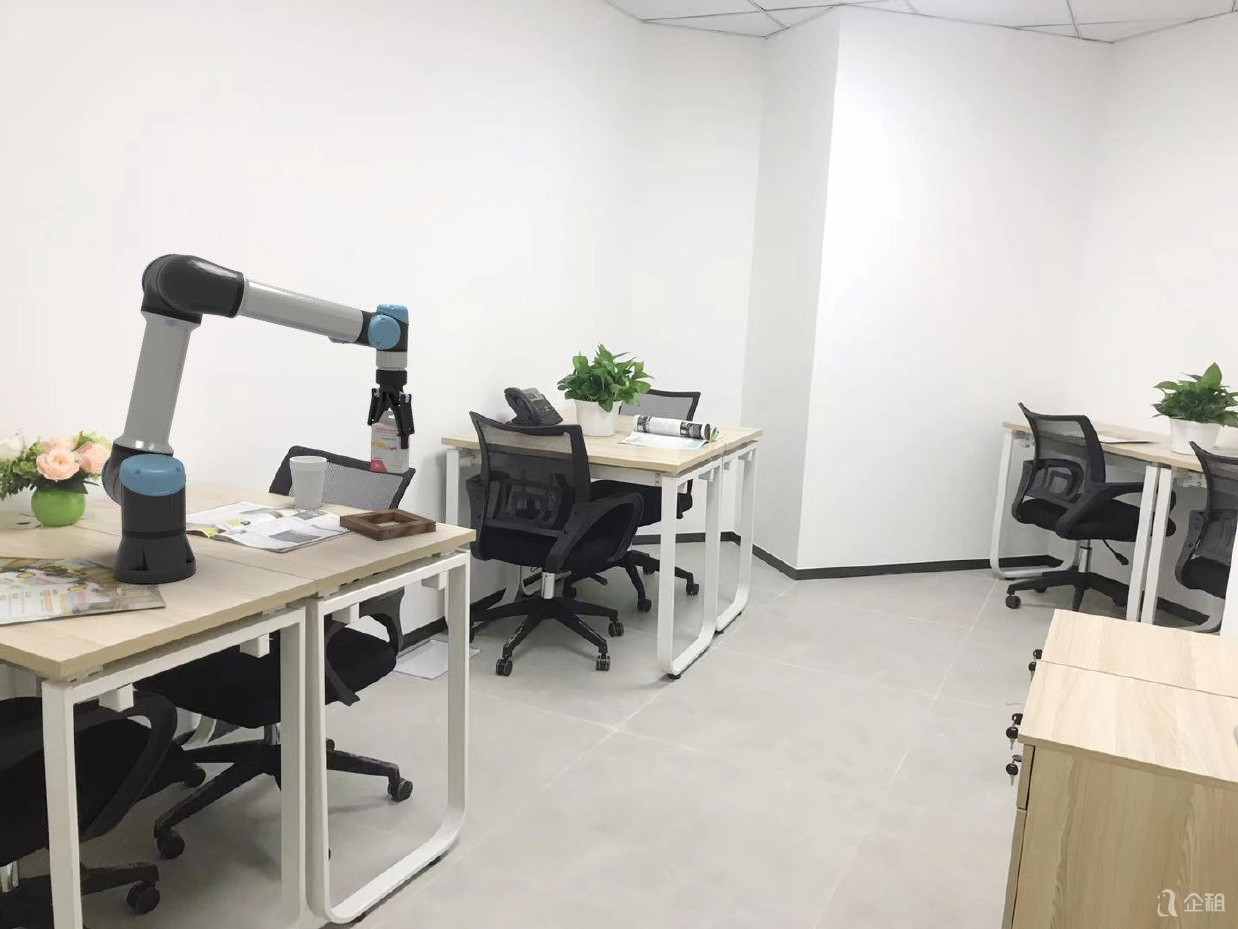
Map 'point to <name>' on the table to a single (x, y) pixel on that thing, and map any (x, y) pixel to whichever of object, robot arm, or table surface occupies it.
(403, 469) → the ink cartridge box
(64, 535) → the table surface
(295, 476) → the foam cup
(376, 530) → the square wooden frame
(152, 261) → the robot arm
